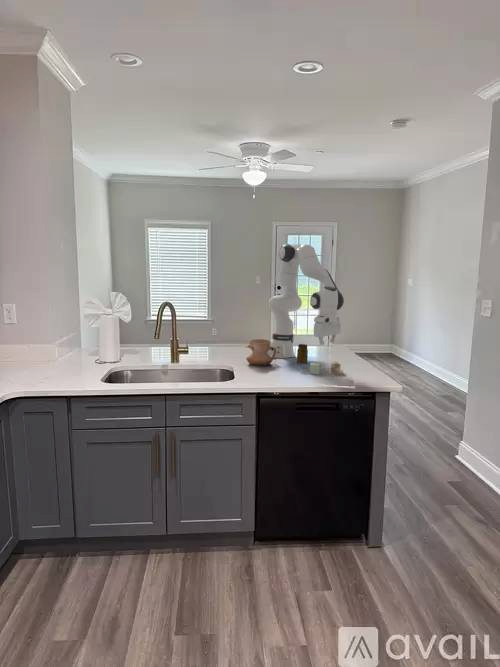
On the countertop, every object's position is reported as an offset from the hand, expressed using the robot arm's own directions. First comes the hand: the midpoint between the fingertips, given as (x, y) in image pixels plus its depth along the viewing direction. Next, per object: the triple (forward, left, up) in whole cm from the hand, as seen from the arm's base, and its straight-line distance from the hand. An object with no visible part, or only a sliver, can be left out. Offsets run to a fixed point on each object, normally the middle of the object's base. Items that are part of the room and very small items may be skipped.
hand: (326, 343), depth 230 cm
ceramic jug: (-38, +12, -17) cm, 43 cm away
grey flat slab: (-2, +1, -17) cm, 17 cm away
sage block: (-6, -3, -16) cm, 17 cm away
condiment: (-14, +18, -17) cm, 28 cm away
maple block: (+5, +2, -16) cm, 17 cm away
